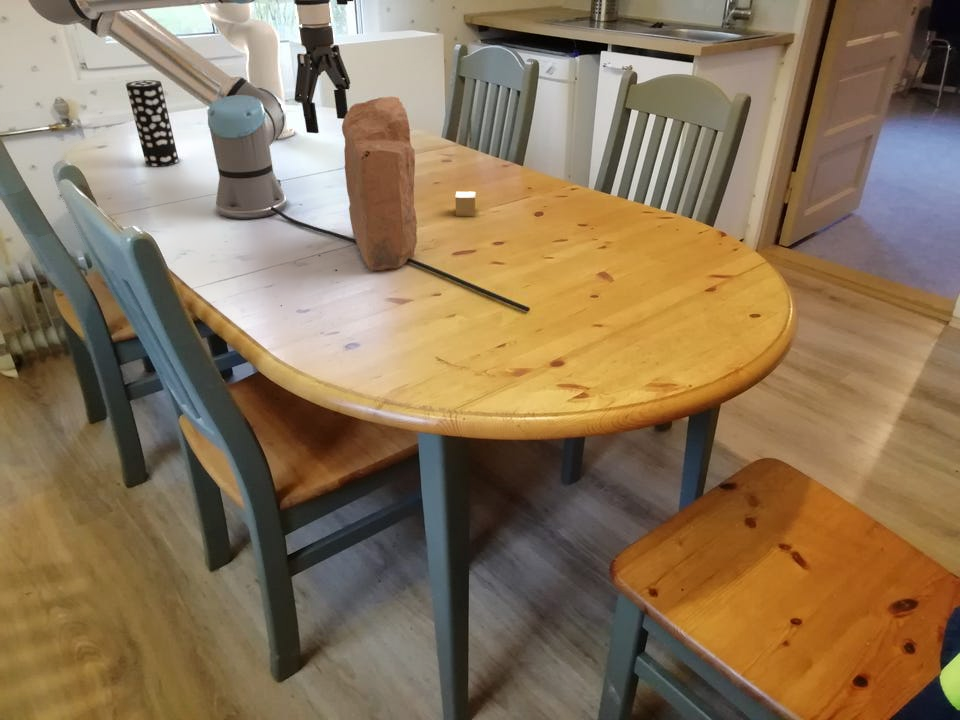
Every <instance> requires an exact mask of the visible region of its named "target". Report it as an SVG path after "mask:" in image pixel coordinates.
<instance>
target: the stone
mask: <svg viewBox="0 0 960 720" xmlns="http://www.w3.org/2000/svg"><path fill="white" fill-rule="evenodd" d="M403 105H404V104H403V102H401V101H400V98H399V97H398V96H397V97H396V96H385V97H384V96H383V97H377V98H374V99H369V100H367V101H365V102H357V103H354V104H353V105H351V107H349V108H348V112H347V114H346V116H345V118H344V119H343V120H342V124H341V132H342V135H343V137H344V150H343V151H344V152H343V153H344V173H345V182H346V192H347V196H348V200H349V206H348V212H349V220H350V225H351V230H352V234H353V237H354V239H356V242H357V243H356V245H357V247H358V249H359V251H360V255H361V258H362V260H363V261H364V263H365V264H366V266H367V268H368V269H369V270H370V271H384V270H385V269H386V270H387V269H398V268H400V267H403V266H404V265H405V264H406V263H407V260H408V258H410V259H413V258H414V257H415V250H416V246H417V243H418V236H417V233H418V232H417V231H418V229H417V227H418V226H417V224H418V222H417V216H416V215H417V214H416V213H417V212H416V208H415V173H416V172H415V171H416V169H415V167H416V166H415V163H416V155H415V148H414V147H413V146H412V143H411V129H410V123H409V118H408V114H407V110H406V108H405V107H404V106H403Z"/></svg>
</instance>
